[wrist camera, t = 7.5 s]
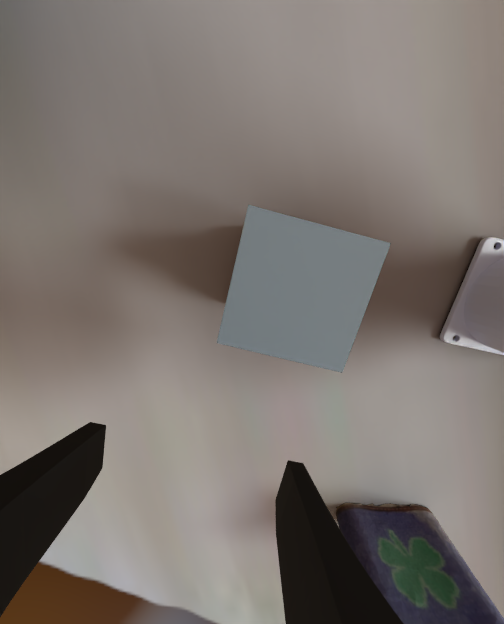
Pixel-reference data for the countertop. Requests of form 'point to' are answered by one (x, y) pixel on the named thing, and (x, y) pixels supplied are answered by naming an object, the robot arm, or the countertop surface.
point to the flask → (415, 565)
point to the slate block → (299, 289)
